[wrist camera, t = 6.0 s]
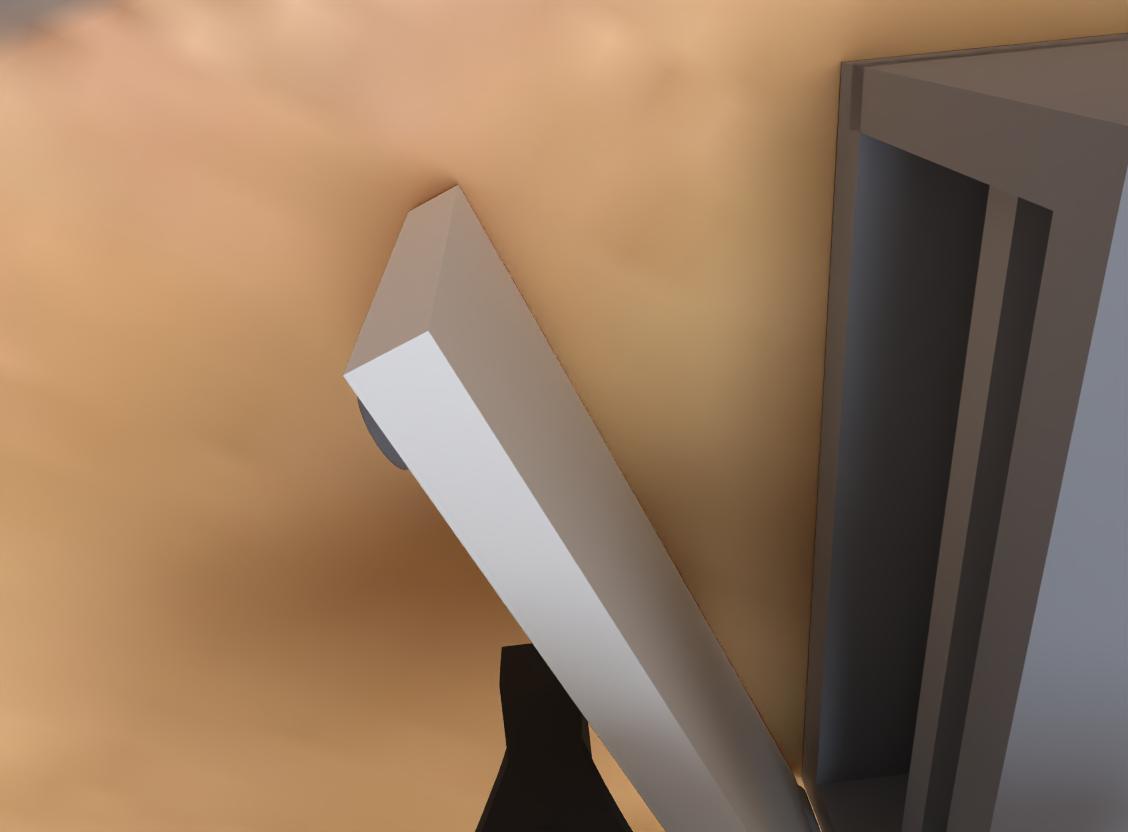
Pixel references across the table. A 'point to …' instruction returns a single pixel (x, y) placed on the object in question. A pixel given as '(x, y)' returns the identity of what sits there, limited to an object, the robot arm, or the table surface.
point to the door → (559, 527)
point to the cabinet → (975, 448)
